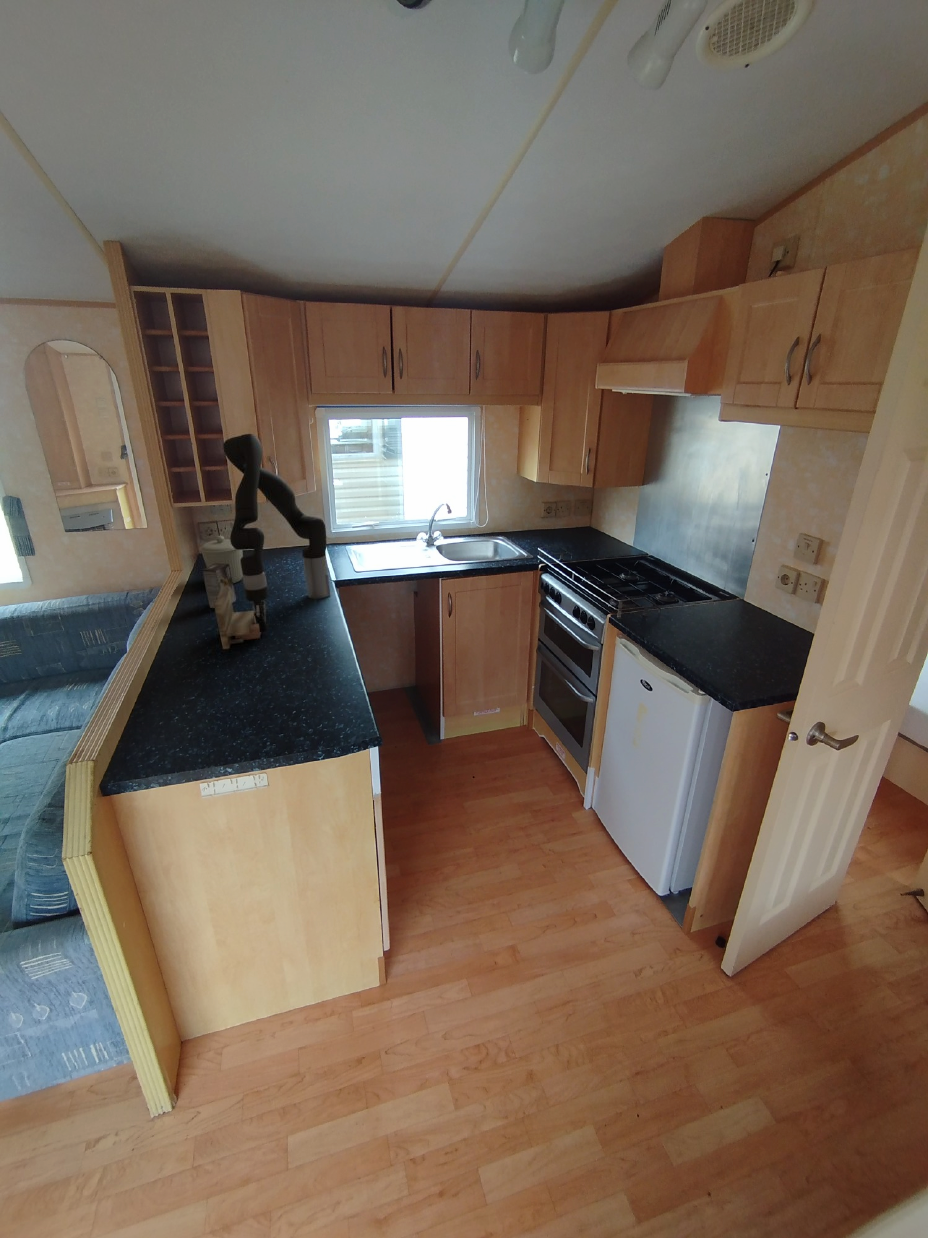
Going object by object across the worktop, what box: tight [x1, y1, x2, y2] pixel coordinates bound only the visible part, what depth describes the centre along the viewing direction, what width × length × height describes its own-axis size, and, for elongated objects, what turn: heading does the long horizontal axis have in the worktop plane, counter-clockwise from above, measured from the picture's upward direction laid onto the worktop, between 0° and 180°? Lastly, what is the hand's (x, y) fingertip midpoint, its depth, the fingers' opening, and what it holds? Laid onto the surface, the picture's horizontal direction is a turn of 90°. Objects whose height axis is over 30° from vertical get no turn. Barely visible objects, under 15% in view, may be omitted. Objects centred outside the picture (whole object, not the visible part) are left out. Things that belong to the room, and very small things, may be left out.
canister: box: [199, 535, 244, 584], centre depth 249 cm, size 18×18×21 cm
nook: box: [214, 586, 257, 650], centre depth 194 cm, size 9×19×16 cm, turn 14°
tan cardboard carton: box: [234, 623, 262, 641], centre depth 197 cm, size 8×7×2 cm
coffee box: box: [201, 563, 237, 609], centre depth 223 cm, size 9×6×16 cm
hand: (263, 631), depth 198 cm, fingers closed
